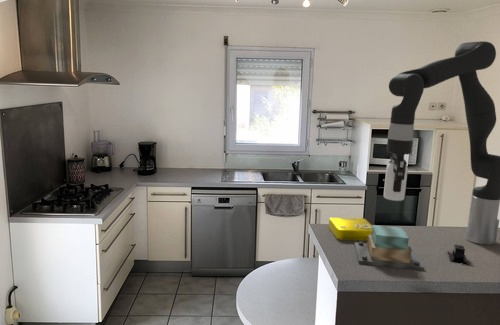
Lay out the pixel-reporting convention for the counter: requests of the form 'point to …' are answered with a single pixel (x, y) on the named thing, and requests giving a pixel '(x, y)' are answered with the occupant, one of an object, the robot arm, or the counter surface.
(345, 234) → the element tile
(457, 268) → the counter surface
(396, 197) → the can
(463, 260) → the black slotted housing
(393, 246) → the brick tower
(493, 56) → the robot arm
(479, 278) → the counter surface
